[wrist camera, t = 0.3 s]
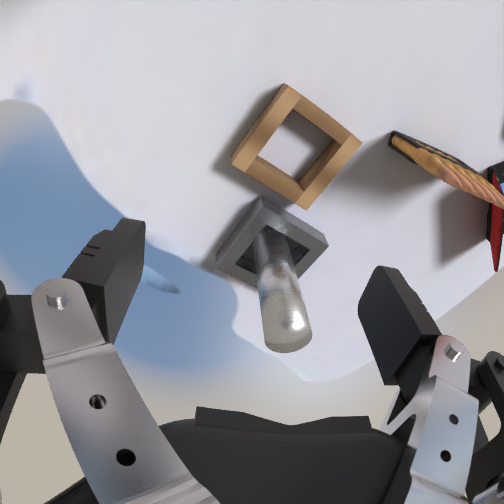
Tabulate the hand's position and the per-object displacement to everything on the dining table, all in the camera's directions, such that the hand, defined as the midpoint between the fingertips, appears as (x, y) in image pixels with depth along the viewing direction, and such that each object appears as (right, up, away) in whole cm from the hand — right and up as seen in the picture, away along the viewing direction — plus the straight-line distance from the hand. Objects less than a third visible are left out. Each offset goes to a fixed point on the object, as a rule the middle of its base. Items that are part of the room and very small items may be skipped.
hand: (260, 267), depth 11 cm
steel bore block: (+2, +1, +27) cm, 27 cm away
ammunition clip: (+20, +12, +21) cm, 31 cm away
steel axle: (+2, +1, +27) cm, 27 cm away
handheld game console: (+35, +8, +25) cm, 44 cm away
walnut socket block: (+4, +11, +20) cm, 23 cm away
